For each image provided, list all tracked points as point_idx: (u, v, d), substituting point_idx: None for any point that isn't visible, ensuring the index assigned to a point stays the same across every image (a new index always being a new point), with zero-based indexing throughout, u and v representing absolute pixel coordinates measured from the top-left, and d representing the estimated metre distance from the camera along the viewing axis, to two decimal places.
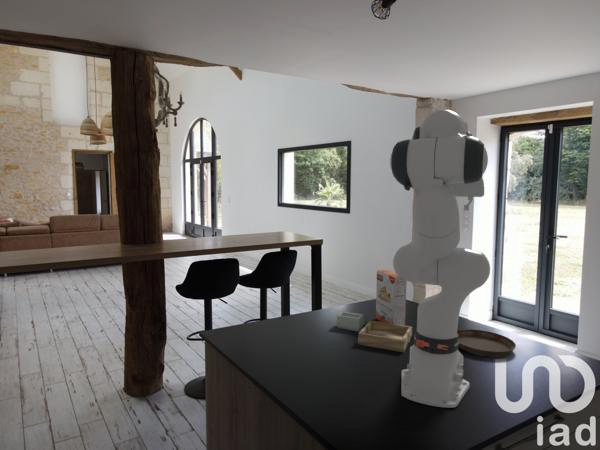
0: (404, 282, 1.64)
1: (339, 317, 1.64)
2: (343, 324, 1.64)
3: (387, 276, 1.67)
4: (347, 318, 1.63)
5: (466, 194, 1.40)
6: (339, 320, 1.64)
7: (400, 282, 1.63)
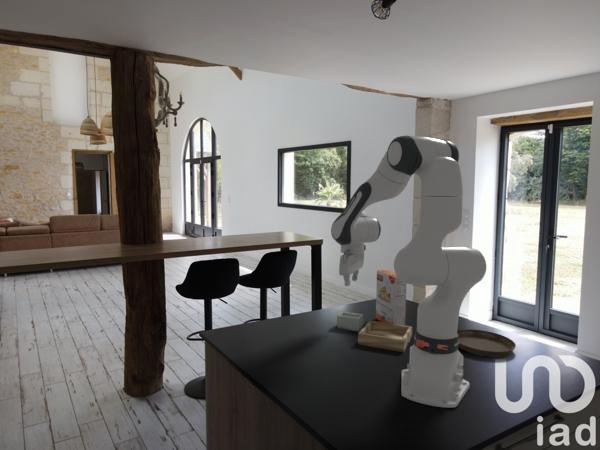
0: None
1: (339, 317, 1.64)
2: (343, 324, 1.64)
3: (387, 276, 1.67)
4: (347, 318, 1.63)
5: (359, 267, 1.67)
6: (339, 320, 1.64)
7: (400, 282, 1.63)
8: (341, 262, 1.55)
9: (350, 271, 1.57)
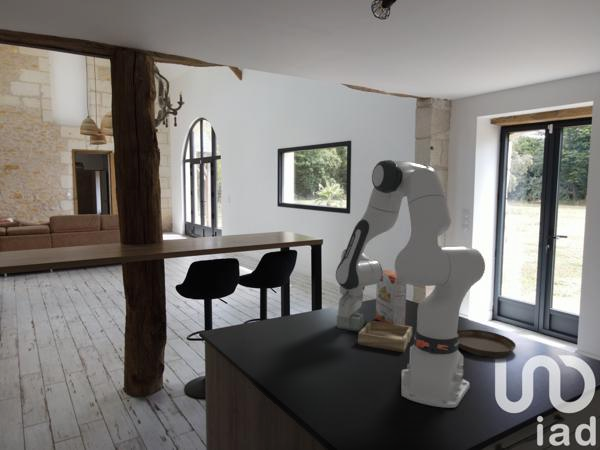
0: None
1: None
2: (343, 324, 1.64)
3: (387, 276, 1.67)
4: None
5: (358, 307, 1.69)
6: (339, 320, 1.64)
7: (400, 282, 1.63)
8: (340, 305, 1.56)
9: (350, 313, 1.58)
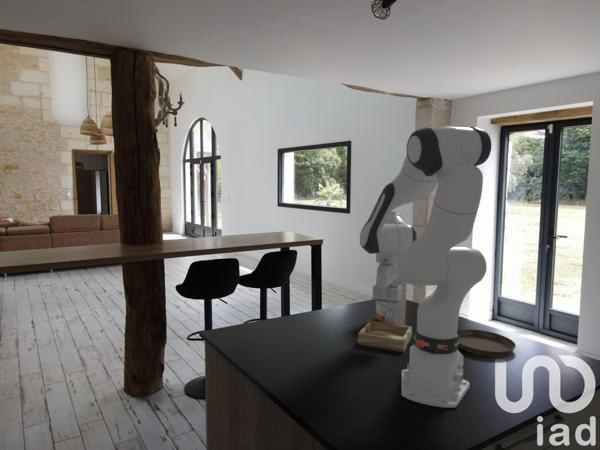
0: None
1: (375, 288, 1.49)
2: (380, 296, 1.48)
3: None
4: None
5: (395, 278, 1.53)
6: (375, 292, 1.49)
7: (400, 282, 1.63)
8: (378, 273, 1.41)
9: (388, 283, 1.43)
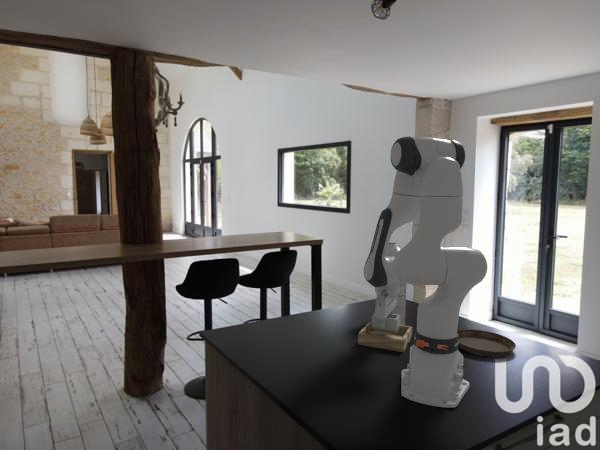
0: None
1: (374, 318, 1.50)
2: (379, 325, 1.50)
3: None
4: None
5: (394, 307, 1.55)
6: (374, 321, 1.50)
7: None
8: (377, 305, 1.42)
9: (387, 314, 1.44)
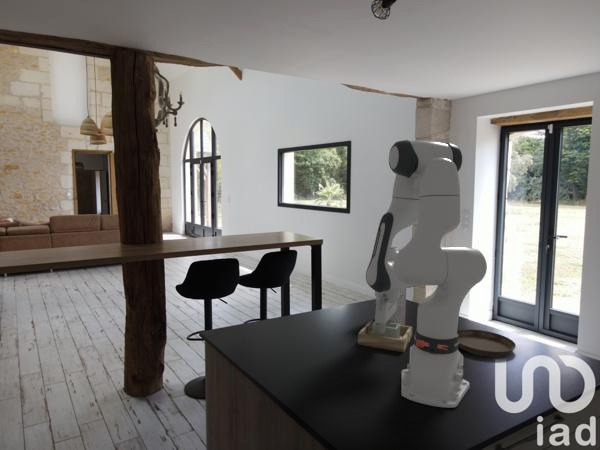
0: None
1: (374, 327, 1.50)
2: (379, 335, 1.50)
3: None
4: None
5: (394, 311, 1.54)
6: (374, 330, 1.50)
7: None
8: (377, 309, 1.42)
9: (387, 318, 1.44)
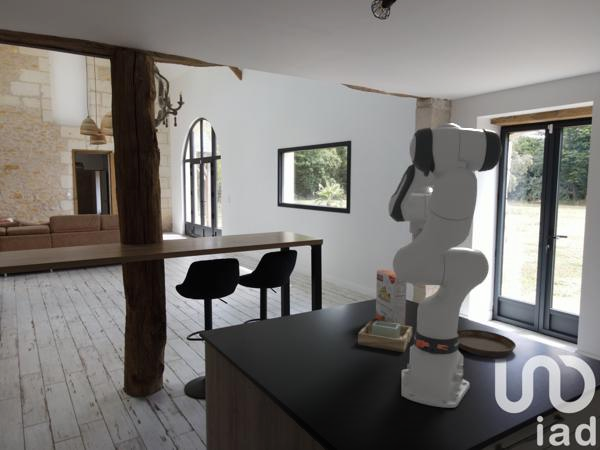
0: (404, 282, 1.64)
1: (374, 327, 1.50)
2: (379, 335, 1.50)
3: (387, 276, 1.67)
4: (383, 328, 1.49)
5: None
6: (374, 330, 1.50)
7: (400, 282, 1.63)
8: None
9: None
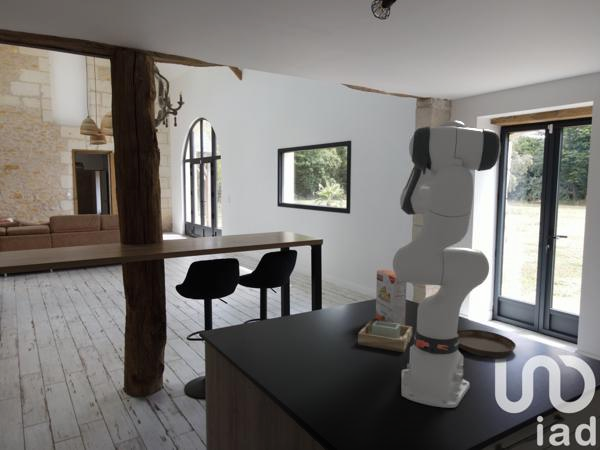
0: (404, 282, 1.64)
1: (374, 327, 1.50)
2: (379, 335, 1.50)
3: (387, 276, 1.67)
4: (383, 328, 1.49)
5: None
6: (374, 330, 1.50)
7: (400, 282, 1.63)
8: None
9: None
